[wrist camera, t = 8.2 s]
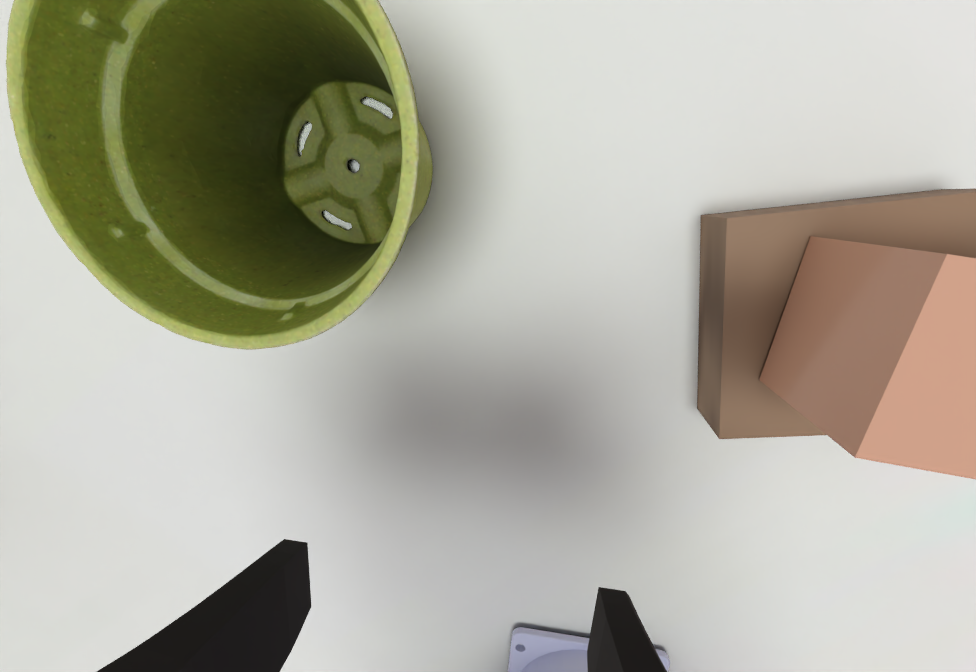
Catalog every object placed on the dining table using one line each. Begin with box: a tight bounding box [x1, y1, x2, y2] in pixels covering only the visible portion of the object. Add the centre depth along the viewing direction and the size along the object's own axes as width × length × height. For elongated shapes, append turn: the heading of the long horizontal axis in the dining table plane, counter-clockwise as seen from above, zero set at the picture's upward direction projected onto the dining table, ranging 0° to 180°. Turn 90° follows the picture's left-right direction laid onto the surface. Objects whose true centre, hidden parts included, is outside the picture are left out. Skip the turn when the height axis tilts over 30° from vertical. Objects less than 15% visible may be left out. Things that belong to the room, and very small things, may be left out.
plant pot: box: [6, 0, 433, 349], centre depth 14 cm, size 9×9×9 cm
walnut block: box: [697, 189, 976, 439], centre depth 16 cm, size 8×8×3 cm
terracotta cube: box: [759, 236, 976, 479], centre depth 13 cm, size 5×5×5 cm
